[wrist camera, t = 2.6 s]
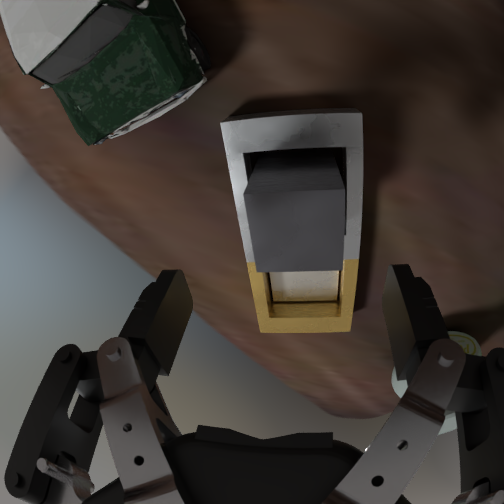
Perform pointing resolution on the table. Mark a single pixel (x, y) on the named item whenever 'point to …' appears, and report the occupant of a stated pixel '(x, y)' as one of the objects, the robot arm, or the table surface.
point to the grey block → (296, 211)
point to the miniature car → (107, 58)
